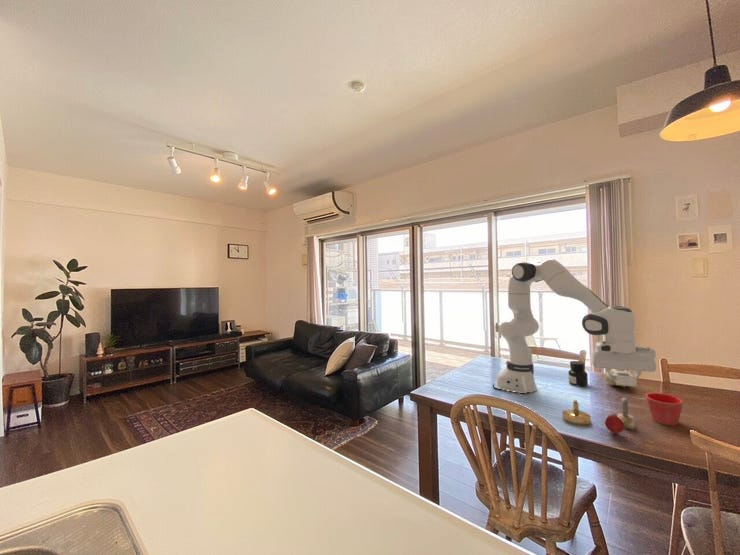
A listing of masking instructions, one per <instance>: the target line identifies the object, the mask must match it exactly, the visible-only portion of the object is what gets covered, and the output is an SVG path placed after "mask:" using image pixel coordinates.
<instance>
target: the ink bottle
mask: <svg viewBox="0 0 740 555" xmlns="http://www.w3.org/2000/svg"><path fill="white" fill-rule="evenodd" d="M569 365H570V369H569V370H568V382H569V383H568V384H570V385H572V386H577V387H587V386H588V385H589V380H588V377H589V376H588V372H587V371H586V364H585V362H583V361H580V360H573V361H572V360H570V362H569Z"/></svg>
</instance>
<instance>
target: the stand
mask: <svg viewBox="0 0 740 555" xmlns="http://www.w3.org/2000/svg"><path fill="white" fill-rule="evenodd" d="M621 408H622V409H621V410H622V413H620V412H619V413H617V417H618V418H620V419H621V420H622V422H623V423H624V429H627V430H633V429H635V417H634V416H633V415H630V414H629V402H628V398H625V397H623V398H621Z"/></svg>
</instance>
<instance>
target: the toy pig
mask: <svg viewBox="0 0 740 555" xmlns="http://www.w3.org/2000/svg"><path fill="white" fill-rule="evenodd" d="M611 370H613V371H625V370H621V369H611ZM609 372H610V373H611V371H609ZM605 378H606V380H607V381H608V383H609V385H610V387H611V386H617V387H622V388H626V385H617V384H616V382H615V381H614V380H612V379H610V378H609V374H608V372H607V371H606V373H605Z"/></svg>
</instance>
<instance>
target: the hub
mask: <svg viewBox="0 0 740 555" xmlns="http://www.w3.org/2000/svg"><path fill="white" fill-rule="evenodd" d="M572 403H573V404H572V405H573V406H572V407H573V409H572V408H571V409H564V410H562V420H563V419H564V420H565V421H564V420H563V421H564V422H566V423H568V424H570V423H571V425H573V424H575V426H578V425H580V426H579V427H587V425H588V426H590V425H591V424H592V417H591V415H590V414H589V413H587V412H585V411H582V410H579V403H578V400H577V399H574V401H573V402H572Z"/></svg>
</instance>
